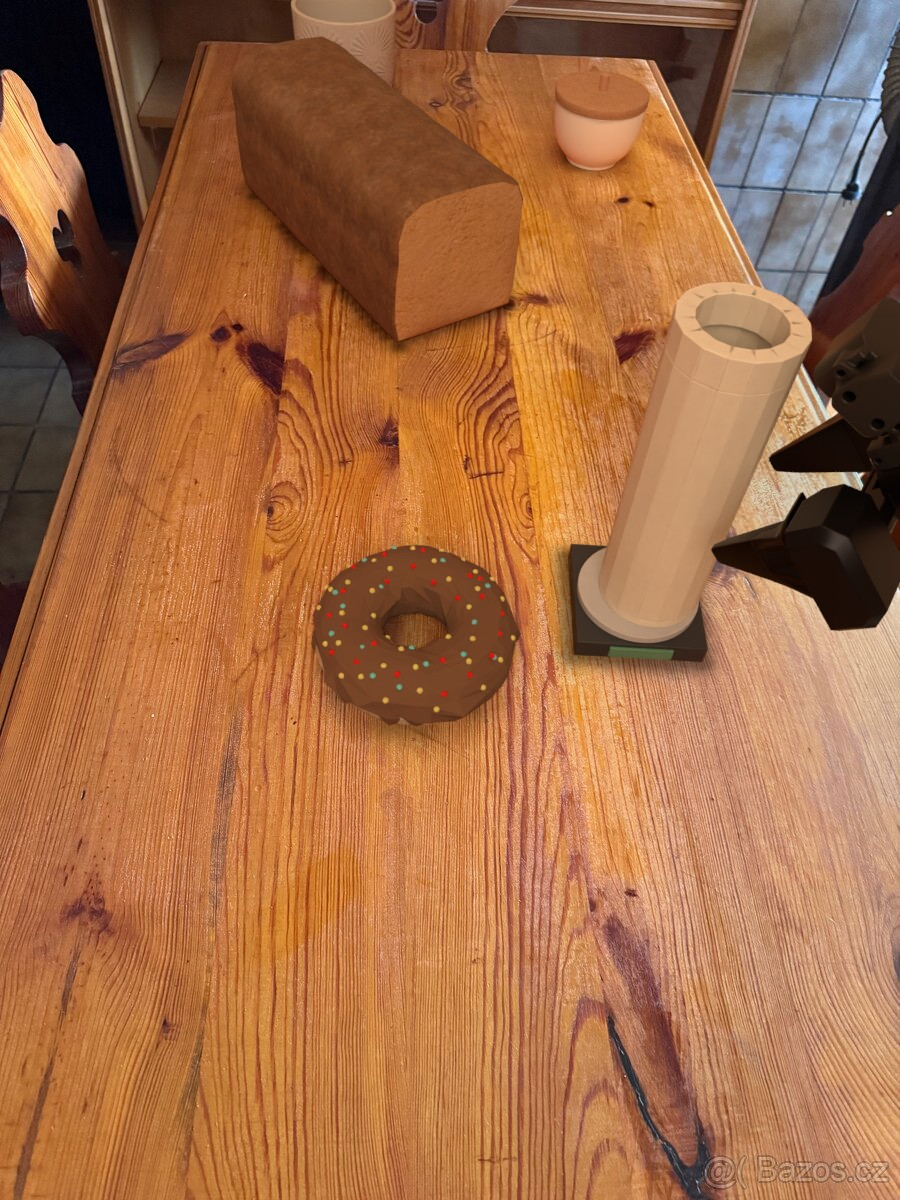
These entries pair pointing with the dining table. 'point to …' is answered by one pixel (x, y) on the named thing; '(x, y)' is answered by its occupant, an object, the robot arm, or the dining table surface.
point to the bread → (375, 187)
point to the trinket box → (598, 117)
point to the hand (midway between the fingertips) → (744, 506)
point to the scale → (623, 620)
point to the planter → (352, 29)
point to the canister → (699, 444)
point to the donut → (406, 674)
